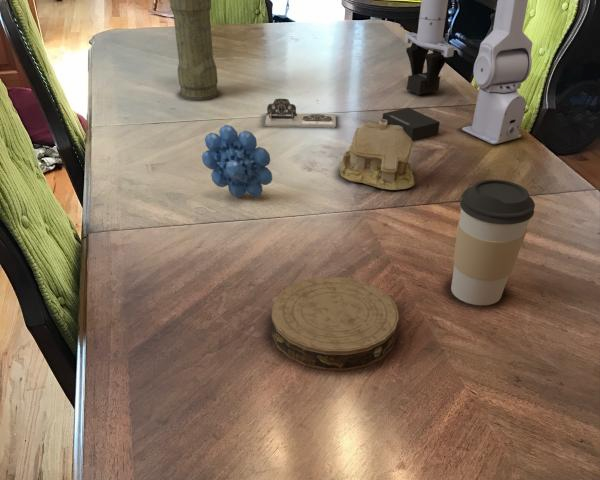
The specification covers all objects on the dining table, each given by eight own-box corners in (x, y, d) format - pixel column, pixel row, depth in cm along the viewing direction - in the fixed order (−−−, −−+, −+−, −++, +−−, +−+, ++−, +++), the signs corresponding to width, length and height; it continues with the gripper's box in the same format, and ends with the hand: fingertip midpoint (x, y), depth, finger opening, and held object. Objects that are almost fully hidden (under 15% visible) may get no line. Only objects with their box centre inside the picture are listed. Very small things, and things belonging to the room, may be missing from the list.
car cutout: (264, 126, 130) (264, 103, 127) (266, 115, 135) (266, 93, 132) (335, 127, 130) (336, 105, 127) (335, 116, 135) (336, 94, 132)
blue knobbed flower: (201, 207, 103) (193, 134, 95) (208, 189, 108) (201, 118, 100) (270, 210, 102) (268, 137, 94) (274, 192, 107) (272, 121, 99)
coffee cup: (462, 266, 90) (484, 166, 80) (520, 289, 86) (551, 185, 76) (431, 293, 85) (450, 189, 75) (491, 318, 81) (520, 212, 70)
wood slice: (246, 329, 79) (244, 310, 77) (331, 282, 87) (332, 263, 85) (336, 389, 71) (338, 370, 68) (421, 331, 79) (425, 312, 77)
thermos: (225, 100, 142) (211, -94, 118) (173, 101, 141) (148, -94, 117) (225, 87, 148) (211, -99, 124) (175, 88, 147) (152, -99, 123)
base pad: (437, 134, 128) (439, 121, 126) (411, 141, 125) (413, 128, 123) (407, 119, 134) (408, 107, 132) (381, 125, 131) (382, 112, 129)
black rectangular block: (438, 90, 146) (440, 76, 144) (419, 94, 144) (420, 80, 142) (425, 85, 149) (427, 71, 147) (406, 89, 146) (408, 75, 144)
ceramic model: (419, 169, 115) (427, 113, 108) (411, 194, 107) (419, 136, 100) (346, 160, 118) (349, 105, 111) (332, 184, 110) (335, 127, 103)
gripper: (468, 21, 133) (457, 89, 142) (424, 8, 142) (416, 73, 151) (444, 26, 130) (434, 94, 140) (400, 12, 139) (394, 77, 148)
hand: (423, 83), depth 145 cm, fingers closed on black rectangular block, 4 cm apart
